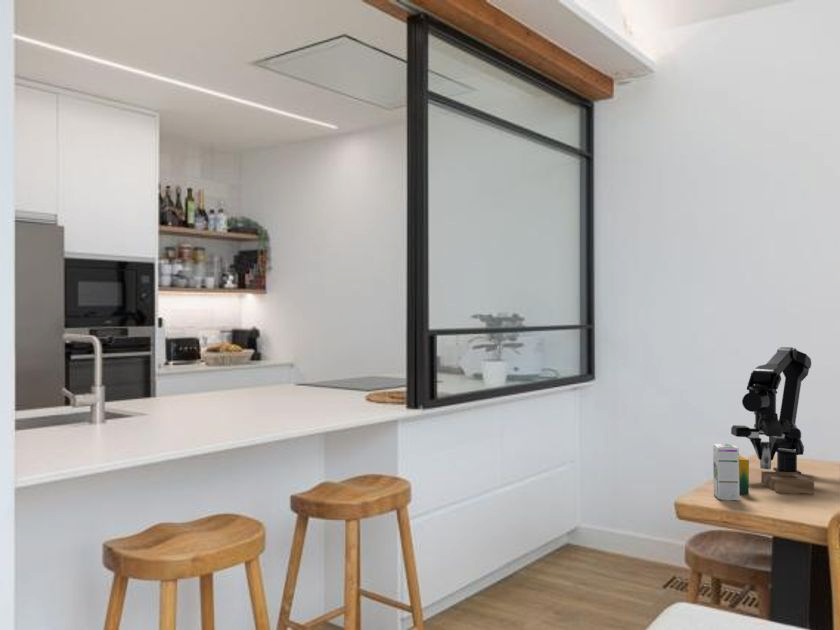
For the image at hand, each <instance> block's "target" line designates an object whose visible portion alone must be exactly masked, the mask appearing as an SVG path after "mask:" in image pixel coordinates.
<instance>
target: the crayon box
mask: <svg viewBox="0 0 840 630" xmlns="http://www.w3.org/2000/svg"><path fill="white" fill-rule="evenodd" d="M749 476H750V460H749V459H747V458H745V457H743V456H742V455H739V495H742V494H748V495H749V493H750V491H749V490H750V489H749V487H750V485H749V484H750V483H749V482H750V481H749V480H750V478H749Z"/></svg>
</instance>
